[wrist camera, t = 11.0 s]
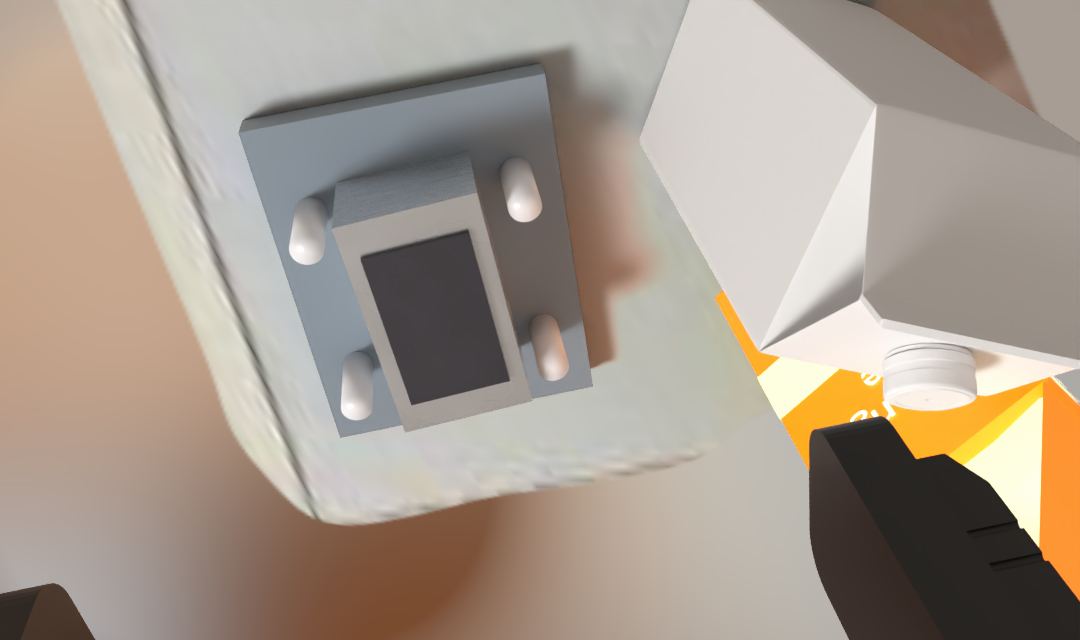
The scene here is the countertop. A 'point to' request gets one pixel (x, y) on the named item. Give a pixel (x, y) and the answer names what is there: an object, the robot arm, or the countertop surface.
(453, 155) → the block
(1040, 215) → the milk carton
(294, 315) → the countertop surface
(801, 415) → the orange juice
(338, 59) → the countertop surface
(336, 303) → the grey plate with pegs
